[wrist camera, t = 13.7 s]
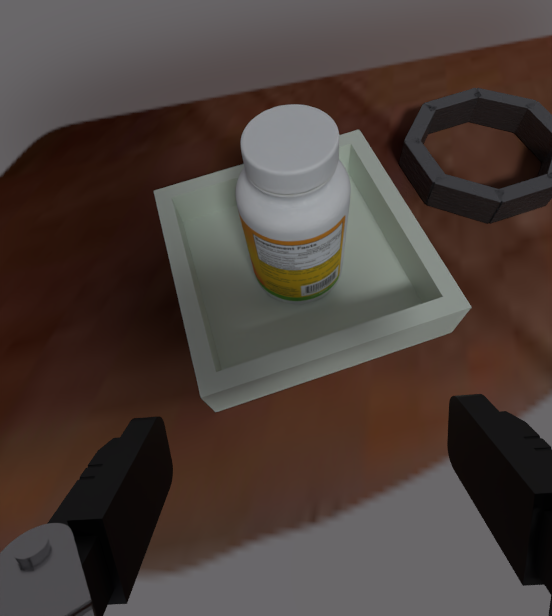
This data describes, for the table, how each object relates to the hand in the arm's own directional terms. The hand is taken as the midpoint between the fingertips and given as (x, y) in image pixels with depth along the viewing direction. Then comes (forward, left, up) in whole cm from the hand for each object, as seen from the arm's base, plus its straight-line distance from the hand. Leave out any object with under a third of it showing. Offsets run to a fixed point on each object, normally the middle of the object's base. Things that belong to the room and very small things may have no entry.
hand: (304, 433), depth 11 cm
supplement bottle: (+3, +11, -9) cm, 15 cm away
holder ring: (+18, +15, -10) cm, 26 cm away
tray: (+3, +11, -10) cm, 15 cm away
